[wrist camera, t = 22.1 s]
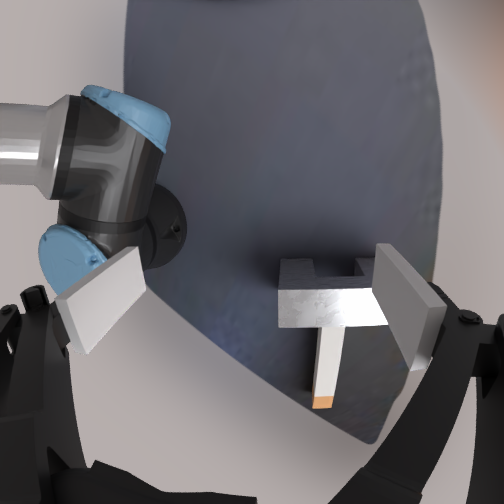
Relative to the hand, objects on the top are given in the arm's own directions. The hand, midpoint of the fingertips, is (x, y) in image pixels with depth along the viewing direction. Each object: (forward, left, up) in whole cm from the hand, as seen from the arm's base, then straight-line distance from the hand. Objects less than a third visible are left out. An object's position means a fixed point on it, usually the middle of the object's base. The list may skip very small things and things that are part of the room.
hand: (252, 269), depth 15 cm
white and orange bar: (-15, -30, -32) cm, 46 cm away
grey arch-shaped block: (-3, -17, -32) cm, 36 cm away
